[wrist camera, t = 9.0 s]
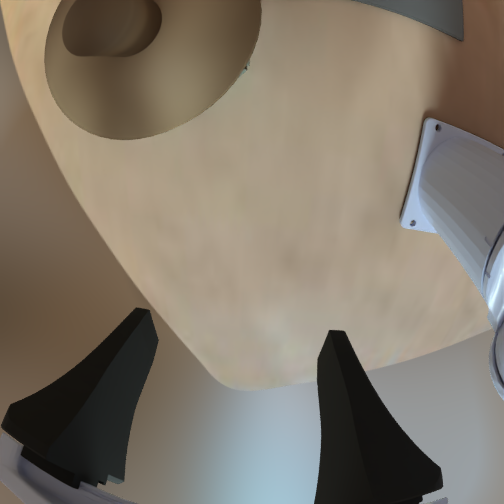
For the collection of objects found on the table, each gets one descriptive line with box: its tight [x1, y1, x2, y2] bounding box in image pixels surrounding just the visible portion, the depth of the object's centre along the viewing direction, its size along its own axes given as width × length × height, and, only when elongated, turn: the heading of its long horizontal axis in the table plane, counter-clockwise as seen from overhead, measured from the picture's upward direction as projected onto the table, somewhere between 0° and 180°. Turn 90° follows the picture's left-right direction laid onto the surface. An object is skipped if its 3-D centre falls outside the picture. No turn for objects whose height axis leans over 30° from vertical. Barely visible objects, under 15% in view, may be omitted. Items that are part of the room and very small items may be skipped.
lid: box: [45, 0, 262, 140], centre depth 7 cm, size 12×12×4 cm
